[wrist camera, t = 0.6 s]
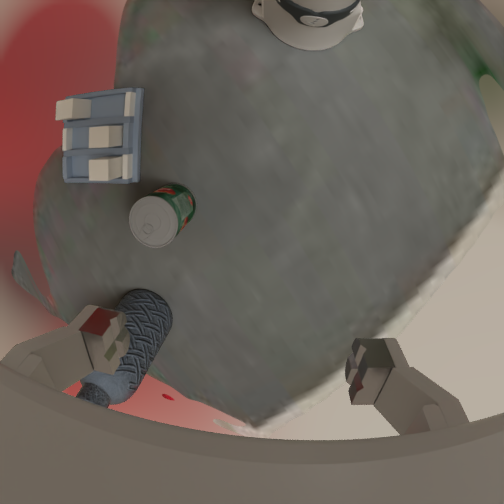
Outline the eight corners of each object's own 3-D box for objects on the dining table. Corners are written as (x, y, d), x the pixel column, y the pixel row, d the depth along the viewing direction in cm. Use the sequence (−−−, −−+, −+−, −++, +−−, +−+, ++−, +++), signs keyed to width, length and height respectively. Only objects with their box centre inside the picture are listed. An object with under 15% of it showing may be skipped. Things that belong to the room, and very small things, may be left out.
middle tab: (107, 126, 46) (89, 127, 40) (126, 125, 46) (109, 125, 40) (106, 145, 47) (88, 148, 42) (125, 144, 47) (108, 147, 41)
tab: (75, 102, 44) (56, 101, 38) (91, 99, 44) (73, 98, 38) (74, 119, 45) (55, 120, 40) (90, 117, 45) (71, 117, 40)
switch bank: (70, 98, 45) (60, 97, 42) (144, 88, 44) (136, 86, 41) (68, 180, 51) (59, 183, 48) (140, 181, 51) (132, 184, 48)
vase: (144, 340, 65) (93, 434, 39) (113, 299, 61) (43, 386, 35) (184, 325, 62) (139, 431, 36) (151, 279, 58) (81, 375, 32)
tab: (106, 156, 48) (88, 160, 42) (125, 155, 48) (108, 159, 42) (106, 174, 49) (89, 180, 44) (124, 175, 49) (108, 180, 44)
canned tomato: (171, 173, 50) (146, 184, 40) (205, 202, 51) (188, 219, 41) (147, 207, 53) (120, 225, 42) (179, 234, 54) (158, 258, 44)
